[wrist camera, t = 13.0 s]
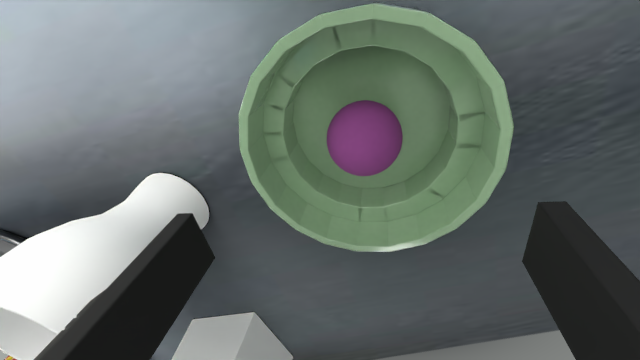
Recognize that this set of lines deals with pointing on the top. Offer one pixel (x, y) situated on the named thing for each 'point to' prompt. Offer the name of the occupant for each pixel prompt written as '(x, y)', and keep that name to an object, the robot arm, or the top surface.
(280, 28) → the top surface
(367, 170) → the ball
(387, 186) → the bowl
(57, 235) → the cup
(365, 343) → the top surface
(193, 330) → the milk
